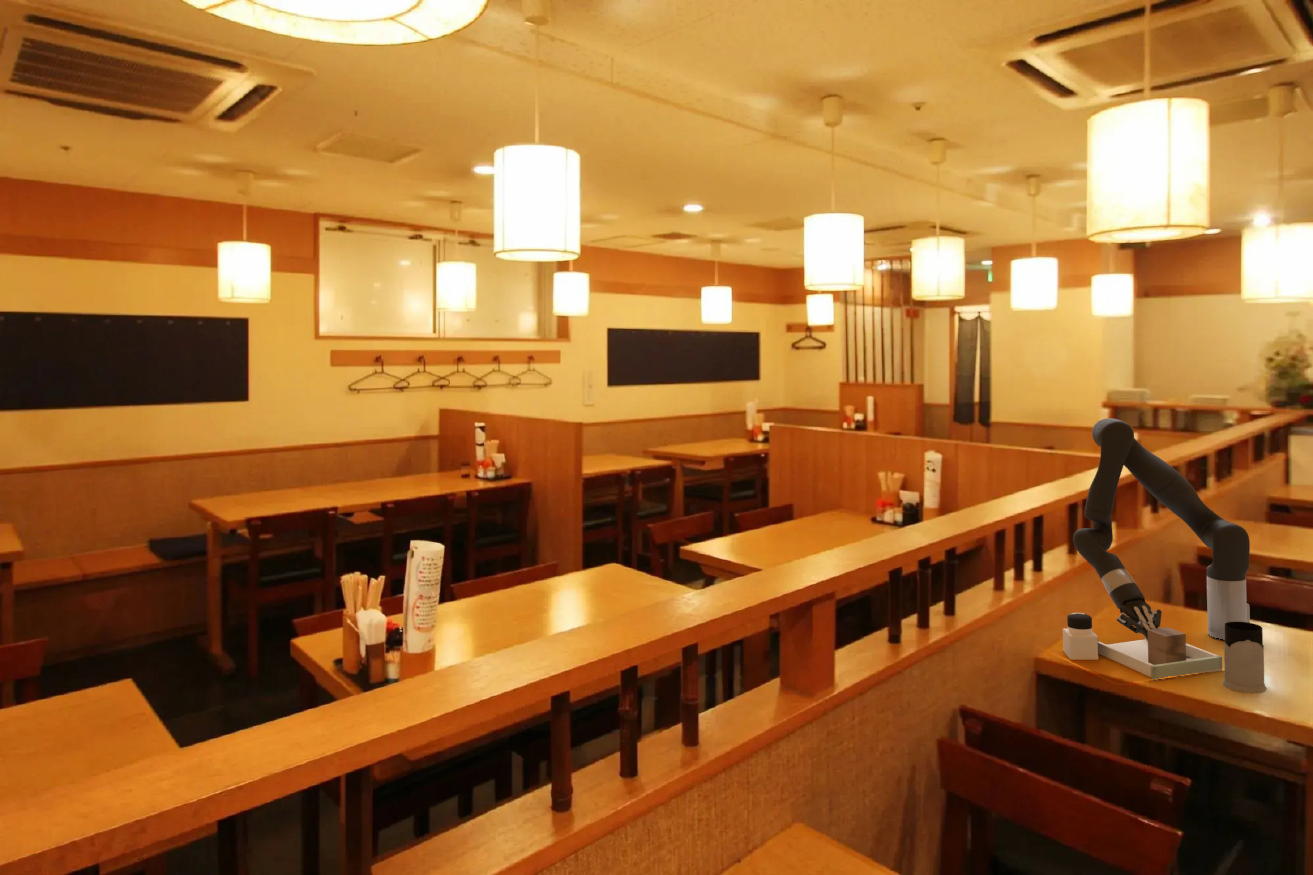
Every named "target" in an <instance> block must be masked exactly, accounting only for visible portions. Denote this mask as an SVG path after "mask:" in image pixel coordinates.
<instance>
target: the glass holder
mask: <svg viewBox="0 0 1313 875" xmlns="http://www.w3.org/2000/svg"><path fill="white" fill-rule="evenodd" d="M1263 632H1264V631H1263V626H1261V625H1259V624H1257V623H1252V622H1250V623H1248V622H1235V621H1233V622H1227V623H1225V640H1224V643H1223V648H1224V649H1223V650H1224V660H1223V661H1224V662H1223V663H1224V679H1223V681H1222V686H1224V687H1226V688H1227V689H1229V690H1233V691H1236V692H1239V693H1240V692H1241V693H1246V694H1247V693H1249V694H1261V693H1264V692H1266V691H1267V686H1266V683H1265V654H1264V653H1265V652H1264V650H1265V649H1264V648H1265V647H1264V644H1263V643H1264V640H1263V638H1264V637H1263V635H1264V634H1263Z"/></svg>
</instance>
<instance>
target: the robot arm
mask: <svg viewBox="0 0 1313 875" xmlns="http://www.w3.org/2000/svg"><path fill="white" fill-rule="evenodd" d="M1091 432H1092V435H1091V436H1092V439H1093V442H1094V443H1095V444H1096V446H1098V447H1099V448H1100V458H1099V464H1098V467H1097V469H1096V474H1095V475H1094V478H1093V480H1092V481H1091V484H1090V486H1089V489H1088V492H1087V496H1086V502H1085V506H1084V511H1083V512H1084V514H1083V515H1084V517H1085V519H1087V520H1089V521H1091V522H1092V528H1090V527H1089V528H1088V527H1087V528H1086V527H1083V528H1079V529H1077V530H1076V531H1074V533H1073V537H1072V541H1073V545H1074V548H1075V550H1076V551H1077V552H1078V553H1079V555H1081V557H1082V558H1084V560H1086V561H1087V563H1088V564H1089V565H1091V566H1092V567H1093V568H1094V570H1095V572H1096V573H1097V575H1098V577H1099V578H1100V580H1101V581H1102V584H1103V586H1104V588H1105V590H1106V592H1107V593H1108V595H1109V597H1110V598H1111V600H1112V601H1113V603H1114V604H1115V606H1116V608H1117V609H1118V610H1119V613H1120V615H1119V616H1118V617H1117V619H1116V621H1117V622H1118V623H1120V624H1121V625H1122V626H1124V627H1126V628H1127V629H1129V630H1130V631H1132V632H1133V633H1134V634H1142V635H1143V636H1144V639H1145V638H1146V639H1147V641H1148V632H1147V630H1149V629H1157V628H1161V621H1162V620H1161V619H1162V613H1163V612H1162V610H1161V609H1159V608H1158V609H1157V610H1156V609H1154V608H1152V607H1151V606H1150V605H1149V604H1148V603H1147V602H1146V597H1145V595H1144V593H1143V592H1142V590H1141V589H1140V587H1139V586H1138V584H1137V582H1136V581H1135V580H1134V578H1133V577H1132V575H1131V574H1130V573H1129V572H1128V570H1127V569H1126V568H1125V565H1124V564H1123V563H1122V561H1121V559H1120V558H1119V557H1118V556H1117V555H1116V554H1114V553H1111V552H1109V549H1110V548H1111V546H1112V544H1113V538H1114V534H1113V522H1112V515H1113V511H1114V510H1113V509H1114V506H1115V505H1114V504H1115V499H1116V495H1117V489H1118V485H1119V481H1120V479H1121V475H1122V471H1123V468H1124V467H1125V468H1126V470H1128V472H1130V474H1131V475H1133V477H1134V478H1135V479H1136V480H1137V481H1138V482H1139V484H1141V485H1142V486H1143V487H1144V489H1146V490H1147V491H1148V492H1149V493H1150V494H1151V495H1152V497H1154V498H1155V499H1156V500H1158V502H1159V503H1160V504H1162V505H1163V506H1164V507H1165V508H1166V509H1168V510H1169V511H1170V512H1172V513H1173V514H1174V515H1175V516H1177V517H1179V519H1180V520H1182V521H1183V522H1184V523H1185V524H1186V525H1187V526H1188V527H1189V528H1190V529H1191V530H1192V532H1194V534H1195V535H1196V536H1197V537H1198V538H1199V540H1200V541H1201V542H1202V543H1203V545H1205V547H1206V548H1208V549H1210V550H1212V563H1211V564H1209V565H1208V566H1207V567H1206V600H1207V601H1206V603H1207V604H1206V605H1207V606H1206V607H1207V608H1206V609H1207V612H1206V613H1207V635H1208V634H1209V635H1211V636H1212V637H1211V636H1210V637H1211V638H1213V637H1215V638H1214V639H1216V638H1219V639H1218V640H1220V639H1223V640H1222V641H1225V623H1227V622H1233V621H1235V622H1248V623H1251V619H1250V618H1251V616H1250V614H1251V613H1250V611H1251V610H1250V604H1249V603H1247V572H1248V571H1249V568H1250V556H1251V555H1250V554H1251V552H1250V551H1251V549H1250V548H1251V542H1250V537H1249V534H1248V532H1247V530H1246V528H1244V527H1242V526H1241V525H1239V524H1236V523H1233V522H1230V521H1228V520H1226V519H1225V518H1222V517H1221V516H1220V515H1218V514H1217V513H1215V511H1213V510H1212V509H1210V507H1208V506H1207V505H1206V504H1205V503H1204V502H1203V500H1202V499H1201V498H1200V496H1199V494H1198V493H1197V491H1196V489H1195V488H1194V486H1193V485H1192V484H1191V483H1190V482H1189V480H1188V479H1187V478H1185V477H1184V476H1183V475H1182V474H1181V473H1180V472H1179V471H1178V470H1177V469H1175V468H1174V467H1173V466H1172V465H1170V464H1169V463H1167V462H1166V461H1164V460H1163V459H1162V458H1160V457H1159V456H1158V455H1155V453H1153V452H1151V451H1149V450H1148V449H1147V448H1145V447H1144V446H1143V445H1141V443H1140V442H1139V440H1137V439H1136V438H1135V432H1134V429H1133V428H1132V426H1131V425H1130V424H1129V423H1127V422H1125V421H1123V420H1121V419H1117V418H1110V417H1109V418H1103V419H1100V420H1098V421H1096V423H1095V424H1094V425H1093V427H1092V431H1091ZM1209 635H1208V636H1209Z"/></svg>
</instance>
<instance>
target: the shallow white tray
mask: <svg viewBox="0 0 1313 875" xmlns="http://www.w3.org/2000/svg"><path fill="white" fill-rule="evenodd" d="M1098 655H1101V656H1103V657H1106V658H1108V659H1109V660H1112V661H1114V662H1116V663H1119V664H1121V665H1122V666H1125V667H1127V668H1130V669H1132V670H1134V671H1136V672H1138V673H1140V674H1142V675H1145V676H1147V677H1150V678H1151V679H1153V680H1152V681H1154V680H1155V681H1157V680H1156V679H1159V678H1164V677H1168V676H1181V675H1186V674H1193V673H1194V674H1195V673H1203V672H1209V673H1214V672H1215V673H1216V672H1220V671H1221V670H1222V671H1223V657H1222V656H1220V655H1218V654H1215V653H1213V652H1210V651H1207V650H1205V649H1201V648H1199V647H1196V646H1194V645H1192V644H1189V643H1186V656H1188V657H1191V658H1189V659H1186V660H1185V661H1178V662H1172V663H1165V664H1158V665H1153V664H1151V663H1148V641H1147V639H1146V638H1145V637H1144V639H1138V640H1131V641H1124V642H1118V643H1116V642H1115V643H1109V644H1106V643H1103V642H1102V641H1099V640H1098ZM1222 671H1221V672H1222ZM1203 674H1204V673H1203ZM1151 679H1150V680H1151Z"/></svg>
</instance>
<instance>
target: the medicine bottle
mask: <svg viewBox="0 0 1313 875" xmlns="http://www.w3.org/2000/svg"><path fill="white" fill-rule="evenodd" d="M1066 619H1067V622H1066V623H1067V628H1065V627H1064V628H1062V642H1063V643H1062V644H1063V645H1062V646H1063V647H1062V648H1063V652H1064V653H1065V655H1066V656H1067V658H1069V660H1070V662H1072V660H1074V661H1075V660H1080V661H1081V660H1082V661H1083V660H1084V661H1085V660H1099V654H1098V641H1099V636H1098V635H1097V634H1096V633H1095V632H1094V630H1093V618H1092V616H1091V615H1090V614H1087V613H1085V612H1084V613H1083V612H1073V613H1069V614H1068V615H1067V617H1066Z"/></svg>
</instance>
